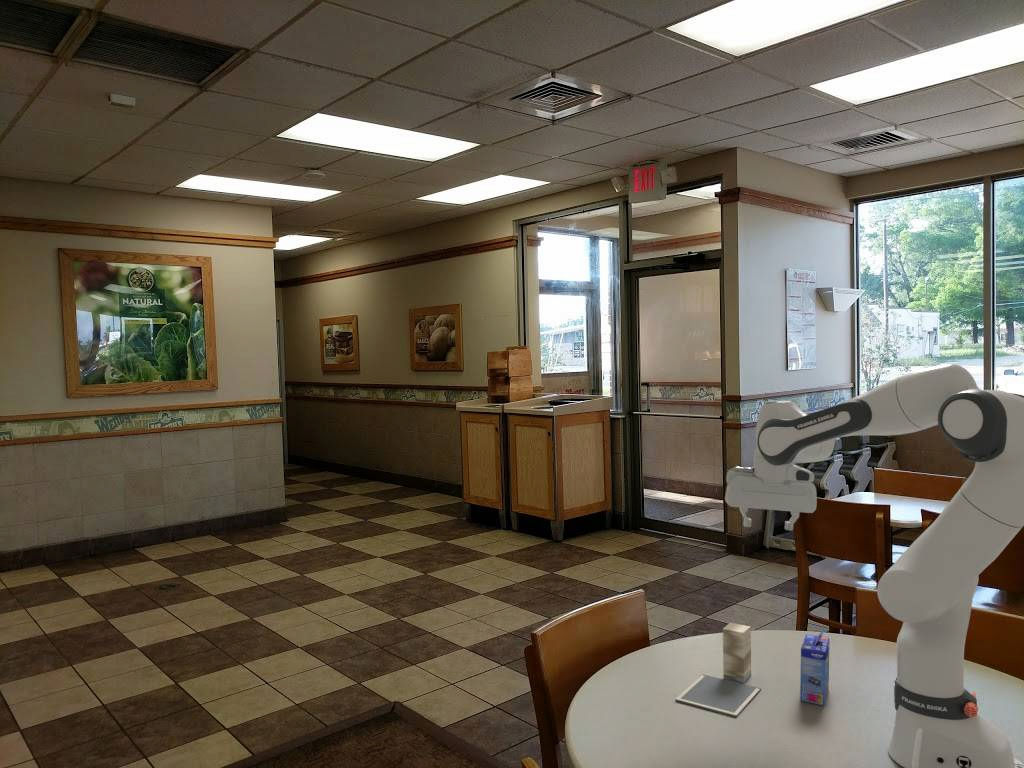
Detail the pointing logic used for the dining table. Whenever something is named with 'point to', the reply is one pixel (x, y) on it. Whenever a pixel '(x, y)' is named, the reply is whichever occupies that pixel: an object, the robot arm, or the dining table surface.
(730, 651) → the birch block
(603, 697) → the dining table surface
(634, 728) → the dining table surface
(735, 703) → the rubber mat
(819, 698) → the ink cartridge box
